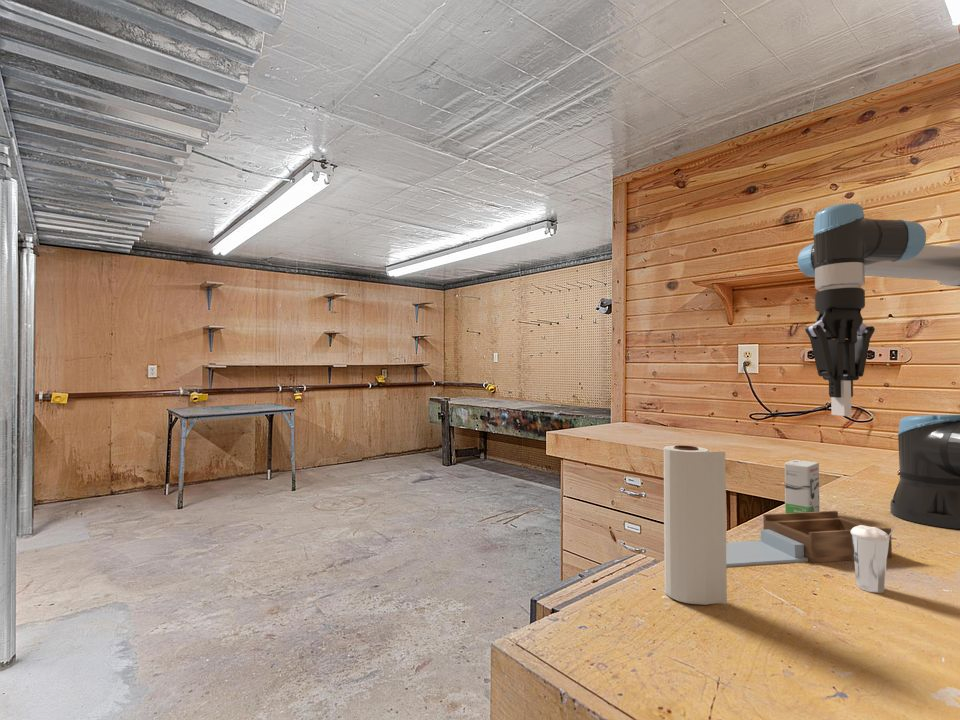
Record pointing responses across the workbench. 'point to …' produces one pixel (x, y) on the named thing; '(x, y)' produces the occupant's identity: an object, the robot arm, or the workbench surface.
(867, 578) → the milkshake
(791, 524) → the case
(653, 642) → the workbench surface
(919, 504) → the robot arm
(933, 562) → the workbench surface
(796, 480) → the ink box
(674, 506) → the paper towel roll
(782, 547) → the lid
